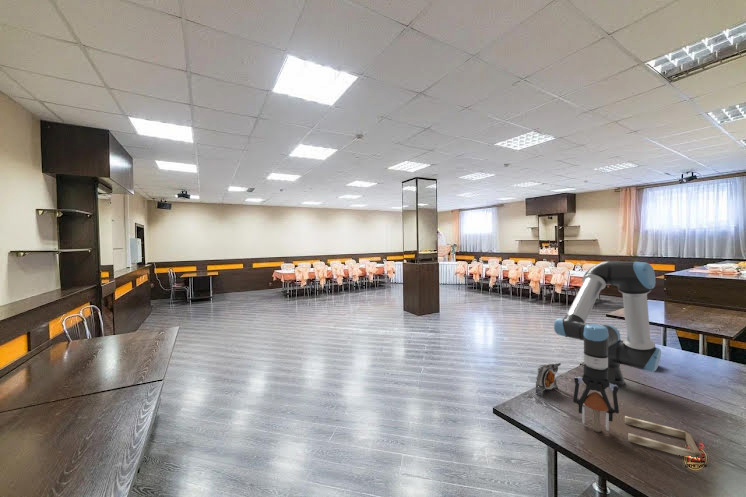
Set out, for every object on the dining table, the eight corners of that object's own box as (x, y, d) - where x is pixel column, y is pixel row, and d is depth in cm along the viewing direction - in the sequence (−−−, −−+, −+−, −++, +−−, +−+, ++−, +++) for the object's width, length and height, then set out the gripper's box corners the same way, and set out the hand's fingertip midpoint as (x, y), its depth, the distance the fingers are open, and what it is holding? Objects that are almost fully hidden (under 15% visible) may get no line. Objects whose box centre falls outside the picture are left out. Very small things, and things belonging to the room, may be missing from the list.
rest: (628, 443, 109) (628, 434, 108) (624, 423, 120) (624, 415, 120) (700, 464, 98) (701, 454, 98) (689, 440, 110) (689, 432, 110)
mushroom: (583, 421, 122) (584, 384, 121) (608, 429, 116) (609, 391, 116) (581, 431, 115) (582, 392, 115) (608, 440, 110) (609, 399, 110)
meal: (544, 398, 140) (544, 370, 140) (535, 394, 144) (535, 367, 143) (561, 389, 148) (561, 363, 148) (552, 386, 152) (552, 360, 151)
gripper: (564, 363, 118) (564, 421, 119) (630, 375, 107) (629, 439, 107) (565, 357, 124) (565, 412, 125) (627, 368, 113) (627, 429, 113)
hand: (595, 424), depth 116 cm, fingers closed on mushroom, 7 cm apart
